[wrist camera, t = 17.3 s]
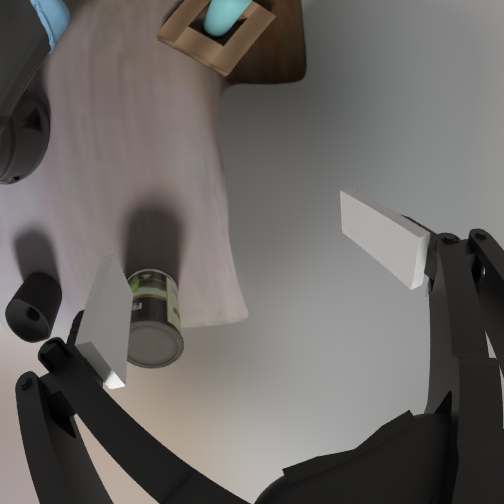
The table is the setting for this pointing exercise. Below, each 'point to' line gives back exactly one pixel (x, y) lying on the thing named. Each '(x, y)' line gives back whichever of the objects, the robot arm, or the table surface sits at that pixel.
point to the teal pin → (222, 17)
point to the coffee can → (154, 320)
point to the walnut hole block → (213, 50)
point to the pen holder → (34, 308)
